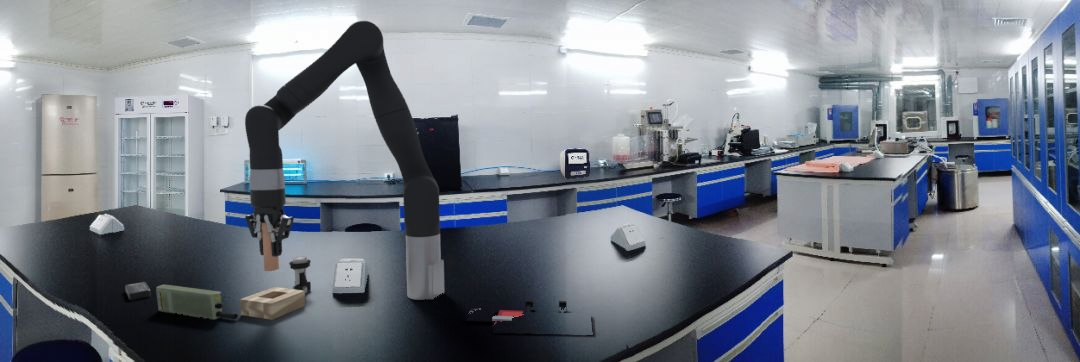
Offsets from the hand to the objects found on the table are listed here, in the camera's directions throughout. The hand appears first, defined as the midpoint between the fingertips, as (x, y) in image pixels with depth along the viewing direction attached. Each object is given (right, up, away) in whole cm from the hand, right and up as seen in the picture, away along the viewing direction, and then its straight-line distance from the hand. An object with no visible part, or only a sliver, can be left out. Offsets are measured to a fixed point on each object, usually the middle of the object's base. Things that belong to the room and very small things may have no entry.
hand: (270, 254), depth 116 cm
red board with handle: (+65, -15, -6) cm, 67 cm away
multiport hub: (-46, -14, +14) cm, 50 cm away
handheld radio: (-17, -15, -2) cm, 23 cm away
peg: (0, -4, 0) cm, 4 cm away
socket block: (0, -14, +1) cm, 14 cm away
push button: (0, -13, +14) cm, 19 cm away
